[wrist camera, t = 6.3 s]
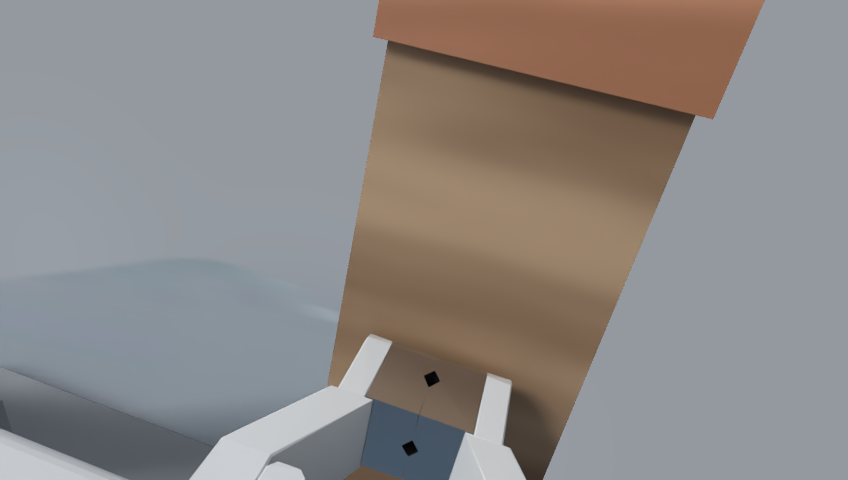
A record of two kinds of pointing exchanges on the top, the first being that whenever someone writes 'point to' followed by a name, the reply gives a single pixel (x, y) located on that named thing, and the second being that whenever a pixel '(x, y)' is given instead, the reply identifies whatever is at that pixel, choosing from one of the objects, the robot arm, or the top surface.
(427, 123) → the walnut lever
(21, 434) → the plinth
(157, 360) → the top surface
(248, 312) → the top surface
